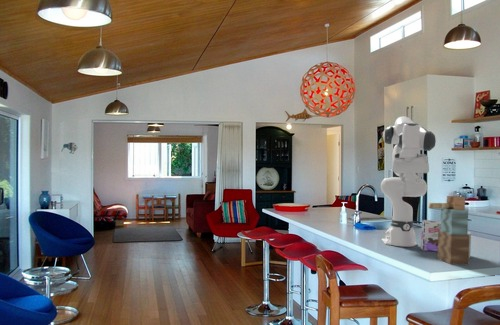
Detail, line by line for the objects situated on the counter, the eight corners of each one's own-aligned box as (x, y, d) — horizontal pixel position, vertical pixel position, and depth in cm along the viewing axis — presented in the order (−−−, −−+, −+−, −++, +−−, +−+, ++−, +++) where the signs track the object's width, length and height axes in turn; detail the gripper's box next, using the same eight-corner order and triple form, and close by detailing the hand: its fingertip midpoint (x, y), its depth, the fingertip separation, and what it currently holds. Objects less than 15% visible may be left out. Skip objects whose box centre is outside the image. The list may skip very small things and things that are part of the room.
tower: (437, 258, 244) (439, 207, 243) (454, 258, 245) (456, 207, 244) (450, 264, 231) (452, 210, 231) (468, 264, 232) (470, 210, 231)
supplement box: (470, 258, 246) (471, 233, 246) (454, 256, 249) (455, 232, 249) (469, 255, 253) (470, 231, 253) (454, 254, 256) (455, 230, 256)
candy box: (422, 251, 262) (423, 220, 262) (420, 248, 268) (421, 219, 268) (449, 252, 260) (450, 222, 260) (446, 250, 266) (447, 220, 266)
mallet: (425, 207, 240) (426, 195, 240) (455, 208, 242) (456, 196, 242) (433, 209, 232) (433, 196, 232) (464, 210, 234) (465, 197, 234)
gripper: (432, 154, 235) (431, 182, 234) (399, 156, 253) (399, 182, 252) (423, 153, 232) (423, 182, 231) (391, 155, 250) (390, 181, 249)
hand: (410, 182), depth 242 cm, fingers open, 8 cm apart
